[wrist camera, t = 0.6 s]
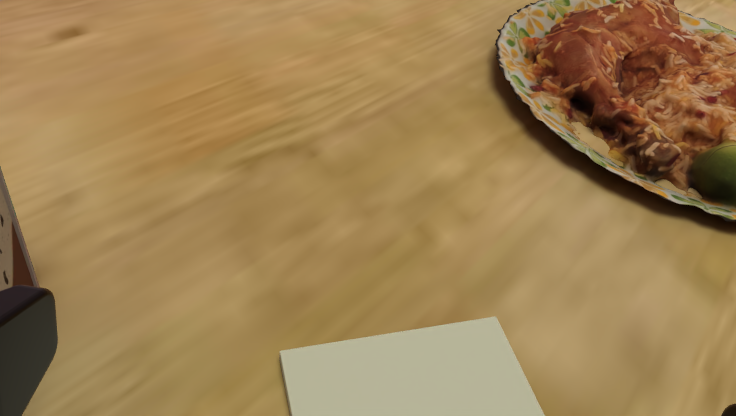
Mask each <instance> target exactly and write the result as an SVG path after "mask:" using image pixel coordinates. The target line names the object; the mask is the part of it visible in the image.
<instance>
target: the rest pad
mask: <svg viewBox="0 0 736 416" xmlns="http://www.w3.org/2000/svg"><path fill="white" fill-rule="evenodd" d="M280 364H281V369H282V374H283V379H284V385H285V390H286V395H287V401H288V406H289V411H290V416H545V415H544V413H543V411H542V409H541V407H540V405H539V403H538V401H537V399H536V397H535V395H534V393H533V391H532V389H531V387H530V385H529V383H528V381H527V379H526V377H525V375H524V373H523V371H522V368H521V366H520V364H519V362H518V360H517V358H516V356H515V354H514V352H513V350H512V348H511V346H510V344H509V342H508V340H507V338H506V336H505V334H504V332H503V330H502V328H501V326H500V324H499V322H498V320H497V318H496V317H489V318H483V319H477V320H471V321H464V322H458V323H452V324H446V325H439V326H433V327H427V328H421V329H414V330H408V331H402V332H396V333H389V334H383V335H377V336H370V337H364V338H358V339H352V340H345V341H339V342H333V343H327V344H320V345H314V346H308V347H302V348H295V349H289V350H283V351H280Z"/></svg>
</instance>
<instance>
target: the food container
mask: <svg viewBox="0 0 736 416" xmlns="http://www.w3.org/2000/svg"><path fill="white" fill-rule="evenodd" d="M16 285H28V286H34V287H39V284H38V281H37V278H36V275H35V272H34V269H33V265H32V262H31V259H30V256H29V253H28V250H27V247H26V244H25V241H24V238H23V235H22V232H21V229H20V226H19V223H18V219H17V216H16V213H15V210H14V207H13V204H12V201H11V198H10V195H9V192H8V189H7V186H6V183H5V180H4V176H3V173H2V170H1V167H0V291H2V290H4V289H7V288H10V287H13V286H16Z"/></svg>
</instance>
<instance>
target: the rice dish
mask: <svg viewBox="0 0 736 416" xmlns="http://www.w3.org/2000/svg"><path fill="white" fill-rule="evenodd" d="M530 4H532V5H526V6H525V7H524V8H522V9H519V10H517V12H518V13H514V14H513V15H510V16H509V18H508V20H507V22H506V23H505V24H504V26H503V28H502V29H500V30H498V32H499V33H500V35H499V36H498V39H497V40H496V44H495V45H496V46H497V50H498V55H497V56H498V57H496V58H497V60H498V62H499V64H500V67H499V68H500V69H501V71H502V72H503V75H504V76H505V79H506V80H509V81H511V83H510V85H511V87H512V89H513V90H514V92H515V94H516V95H517V94H519V95H518V96H517V97H516V99H518V100H520V101H523V102H526V103H527V104H528V105H530V112H531V113H532V115H533V116H534V117H535V119H538V120H541V121H543V122H544V123H545V124H546V125H547V126H548V127H550V128H551V129H550V131H552V132H553V133H556V134H558V135H560V136H561V138H562V140H564V141H566V142H567V143H568V144H569V145H570V146H571V147H572V148H573V149H575V150H578V151H581V152H583V153H585V154H587V155H588V156H589V157H590V158H591V159H592V160H593V161H594V162H595V163H597V164H599V165H601V166H603V167H605V168H606V169H608V170H609V171H611V172H613V173H614V174H616V175H618V176H620V177H622V178H624V179H626V180H628V181H630V182H632V183H635V184H637V185H640V186H642V187H644V189H646V190H648V191H651V192H653V193H655V194H657V195H659V196H660V197H662V198H663V199H666V200H669V201H672V202H675V203H678V204H684V205H695V206H697V207H699V208H701V209H703V210H704V211H706V212H707V213H708V214H714V215H717V216H720V217H722V218H724V220H725V221H736V32H734V31H732V30H729V29H726V28H725V27H723V26H720V25H718V24H715V23H712V22H710V21H708V20H706V19H703V18H695V17H693V16H692V15H690V14H687V13H684V12H682V11H678V10H677V8H676V7H675V5H674V0H541V1H538V2H536V3H530ZM571 122H581V123H582V124H583V125H584V126H586V127H590V128H592V129H593V133H594V135H595V136H596V137H599V138H601V139H603V140H604V141H605V142H606V143H607V144H608V146H609V147H610V150H609V152H608V154H609V156H610V157H612V158H613V159H616V160H618V161H621V162H623V167H621V166H618V165H616V164H615V163H613V162H612V161H611V160H610V159H608V158H606V157H604V156H603V155H601V154H600V153H598V152H597V151H595V150H594V149H592V148H591V147H590V146H589V145H588V144H587V143H585V142H584V141H582V140H580V139H579V138H578V136H576V134H575V133H574V132H573V131H576V129H575V128H574V127H573V126H572V125H571ZM590 122H591V124H589V123H590ZM578 134H580V133H578ZM657 179H666V180H668V181H670V182H671V183H672V184H674V185H675V186H676V187H677V188H679V189H681V190H684V191H686V192H687V191H688V189H689V188H693V189H695V190H697V191H698V192H699V193H700V194H701V195H702V199H701V198H699V197H697V196H696V195H694V194H692V193H690V192H687V195H682V194H679V193H677V192H675V191H671V190H668V189H666V188H663V187H661V186H659V185H657V184H655V183H654V182H655V181H656V180H657Z"/></svg>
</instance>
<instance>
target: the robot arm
mask: <svg viewBox="0 0 736 416" xmlns="http://www.w3.org/2000/svg"><path fill="white" fill-rule="evenodd" d="M57 342H58V337H57V323H56V310H55V299H54V296H53V293H52V292H51V291H50V290H48V289H45V288H40V287H34V286H28V285H16V286H13V287H10V288H7V289H4V290H2V291H0V416H22V414H23V412H24V410H25V409H26V407H27V405H28V403H29V401H30V400H31V398H32V396H33V394H34V392H35V390H36V389H37V387H38V385H39V383H40V381H41V380H42V378H43V376H44V374H45V372H46V371H47V369H48V367H49V365H50V363H51V361H52V359H53V357H54V355H55V352H56V349H57ZM721 416H736V404H732V405H729V406H728V407H727V408H726V409H725V410H724V411H723V413H722V415H721Z"/></svg>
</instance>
